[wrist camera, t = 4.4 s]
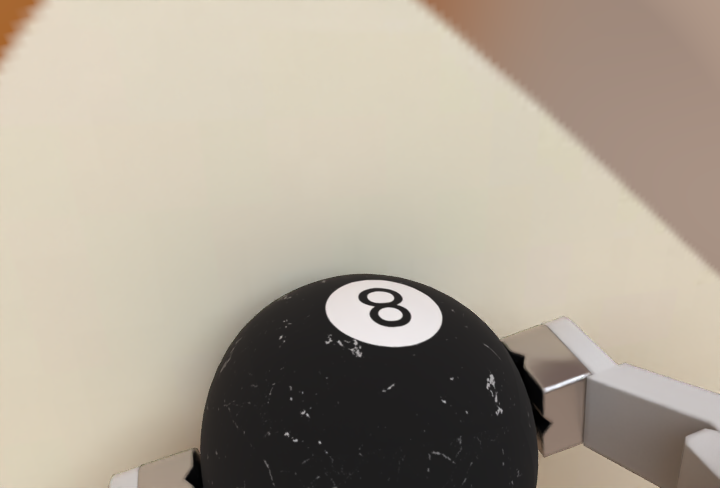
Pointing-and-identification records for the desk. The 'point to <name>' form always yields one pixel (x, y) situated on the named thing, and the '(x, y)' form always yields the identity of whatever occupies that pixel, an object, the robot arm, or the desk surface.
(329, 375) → the billiard ball
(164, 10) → the desk surface
